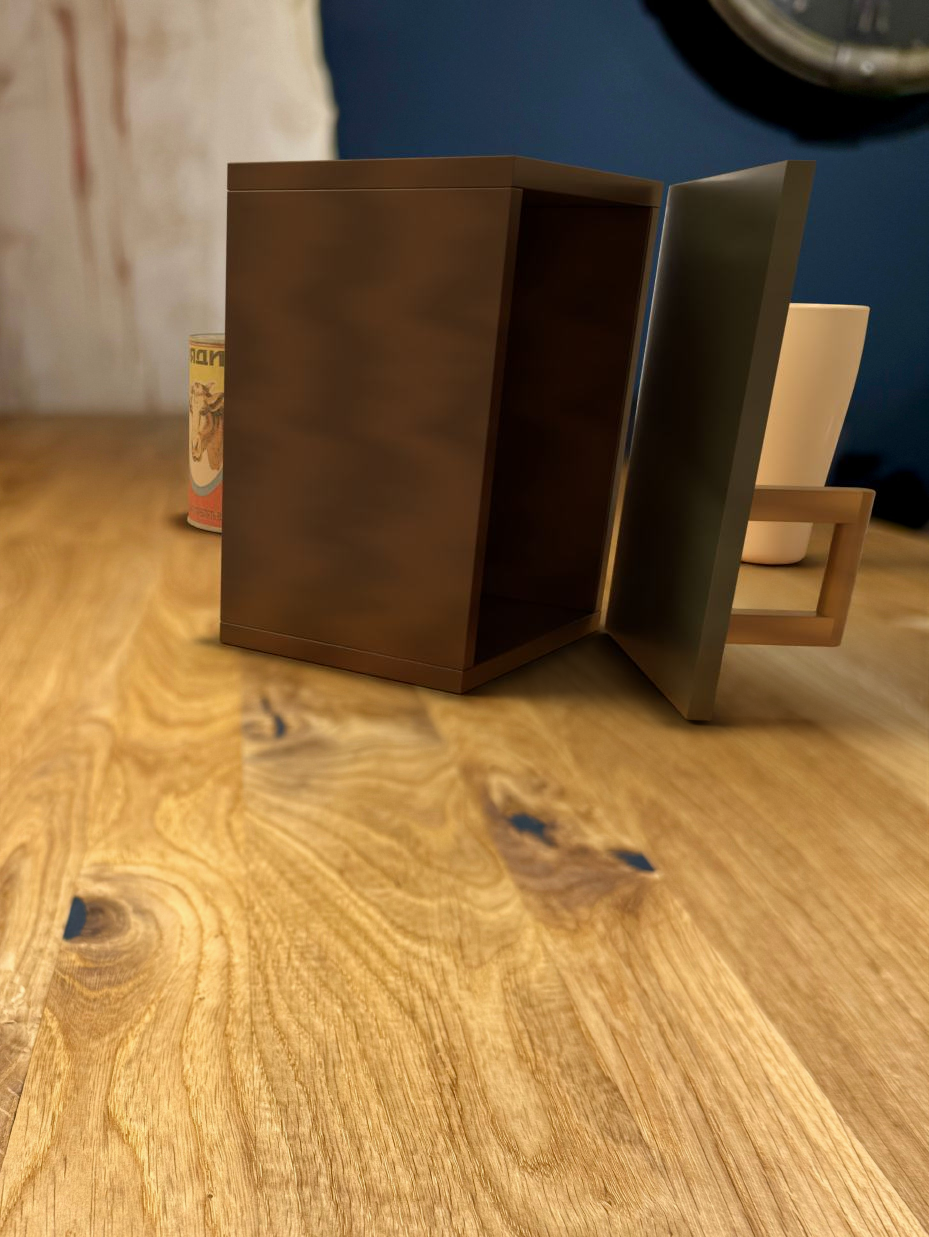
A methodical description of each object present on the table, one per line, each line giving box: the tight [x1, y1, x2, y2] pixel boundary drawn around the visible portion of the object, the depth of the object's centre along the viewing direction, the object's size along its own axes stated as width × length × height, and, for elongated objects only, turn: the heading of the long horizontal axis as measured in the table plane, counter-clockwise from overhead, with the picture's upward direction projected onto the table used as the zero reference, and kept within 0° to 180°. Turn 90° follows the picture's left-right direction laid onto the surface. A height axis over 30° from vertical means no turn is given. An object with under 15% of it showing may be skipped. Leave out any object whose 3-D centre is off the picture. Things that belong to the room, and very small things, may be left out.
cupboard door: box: [603, 159, 877, 721], centre depth 55 cm, size 6×15×20 cm, turn 179°
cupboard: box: [219, 154, 665, 695], centre depth 60 cm, size 13×15×20 cm
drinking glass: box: [741, 302, 871, 566], centre depth 82 cm, size 7×7×15 cm
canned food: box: [187, 332, 225, 534], centre depth 90 cm, size 11×11×12 cm
